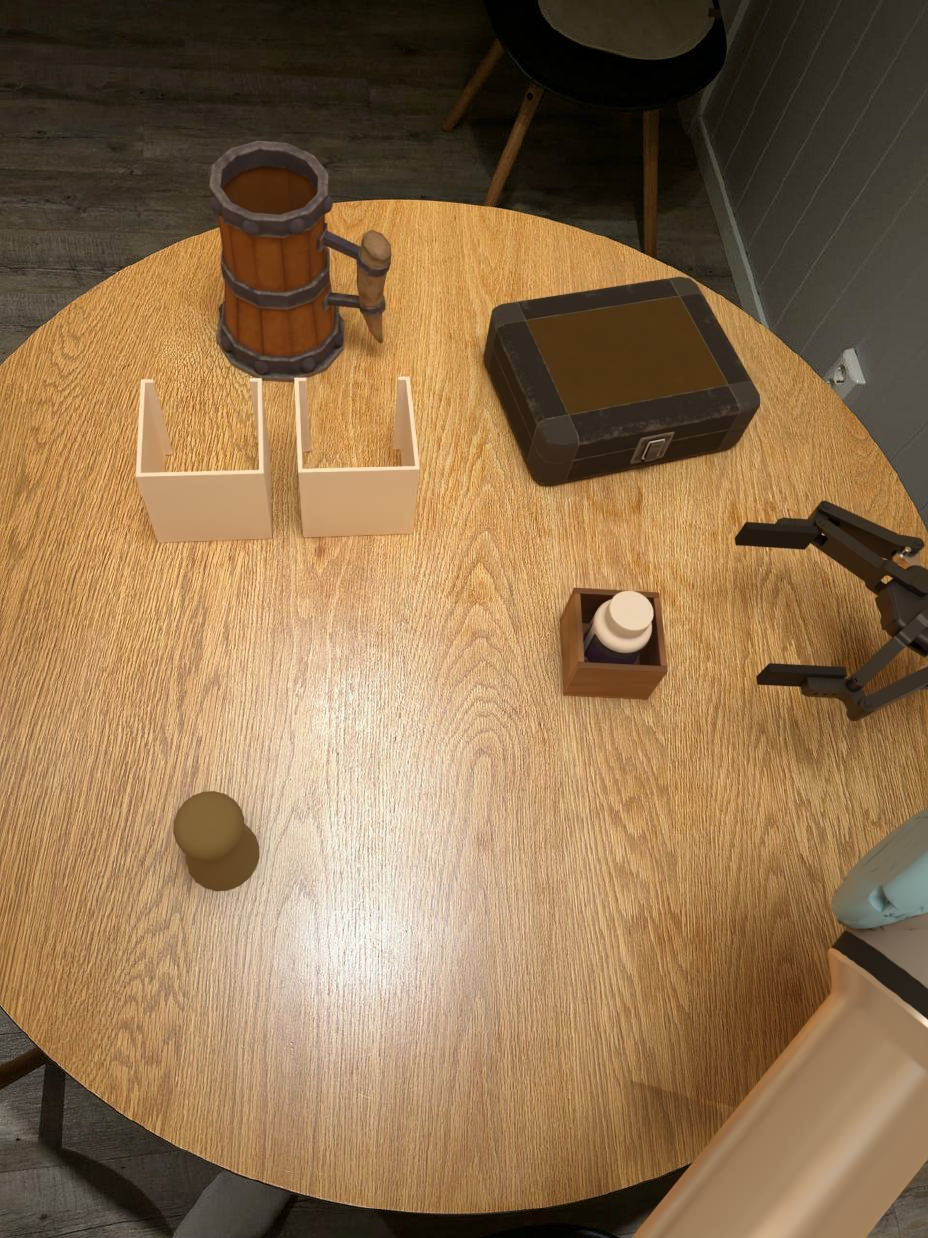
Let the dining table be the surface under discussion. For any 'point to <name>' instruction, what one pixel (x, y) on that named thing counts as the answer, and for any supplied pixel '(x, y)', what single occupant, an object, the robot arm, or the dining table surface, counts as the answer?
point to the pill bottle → (619, 629)
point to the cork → (216, 841)
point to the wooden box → (607, 676)
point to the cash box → (617, 378)
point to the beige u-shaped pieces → (244, 496)
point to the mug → (286, 263)
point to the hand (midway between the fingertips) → (750, 601)
